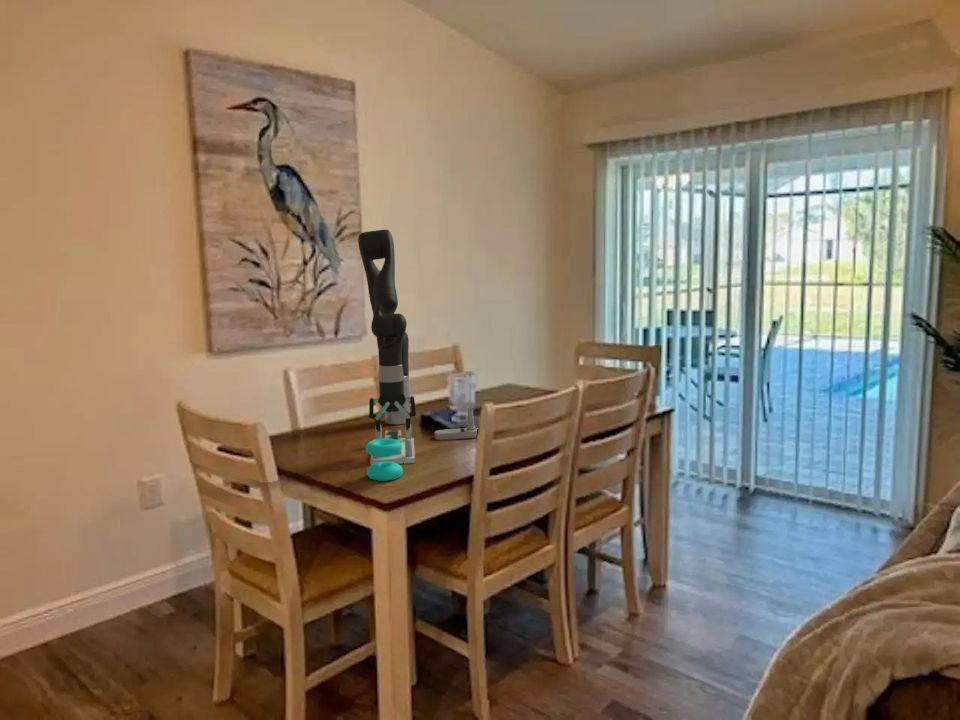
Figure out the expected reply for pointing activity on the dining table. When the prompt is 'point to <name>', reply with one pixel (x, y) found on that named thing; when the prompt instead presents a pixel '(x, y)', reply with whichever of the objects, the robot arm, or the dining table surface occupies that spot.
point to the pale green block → (394, 435)
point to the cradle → (406, 451)
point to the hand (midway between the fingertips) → (393, 430)
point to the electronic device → (459, 430)
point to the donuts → (384, 469)
